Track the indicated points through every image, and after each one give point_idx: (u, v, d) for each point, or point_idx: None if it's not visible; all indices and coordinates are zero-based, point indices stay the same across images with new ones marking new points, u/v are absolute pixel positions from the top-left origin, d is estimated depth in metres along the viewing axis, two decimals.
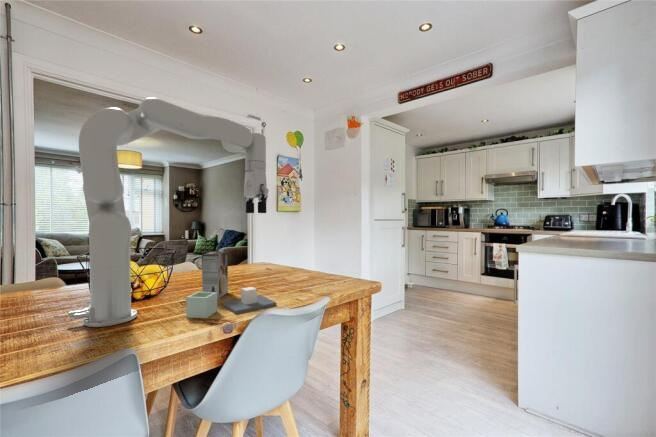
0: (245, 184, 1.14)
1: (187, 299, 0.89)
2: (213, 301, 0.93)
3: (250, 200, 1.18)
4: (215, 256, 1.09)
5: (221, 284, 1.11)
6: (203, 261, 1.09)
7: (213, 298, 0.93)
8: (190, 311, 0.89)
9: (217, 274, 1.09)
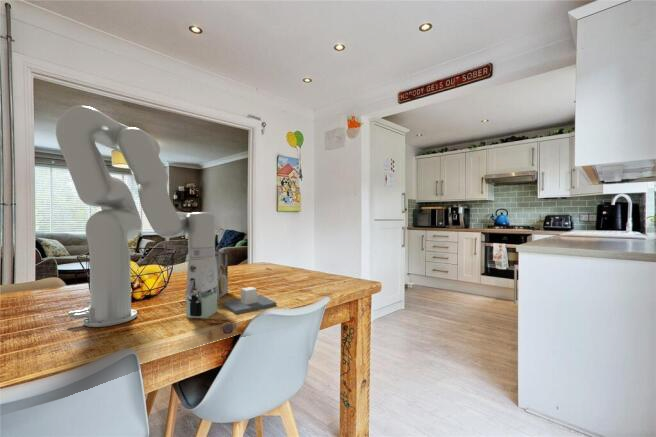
0: (205, 276, 0.89)
1: (187, 299, 0.89)
2: (213, 301, 0.93)
3: None
4: (215, 256, 1.09)
5: (221, 284, 1.11)
6: None
7: (213, 298, 0.93)
8: None
9: (217, 274, 1.09)
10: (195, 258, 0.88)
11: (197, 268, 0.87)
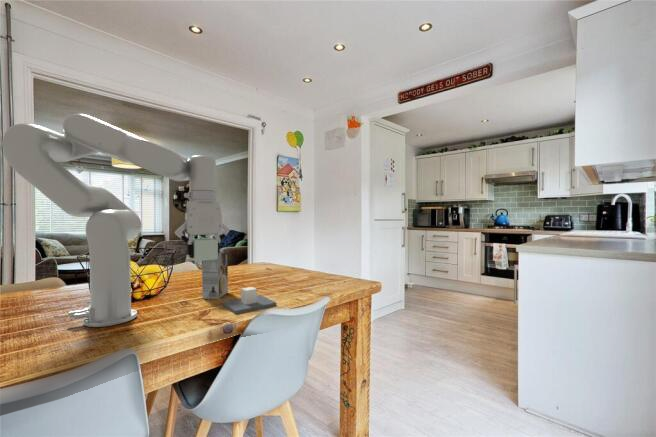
0: (195, 218, 0.88)
1: None
2: (209, 247, 0.90)
3: None
4: None
5: (221, 284, 1.11)
6: (203, 261, 1.09)
7: (209, 244, 0.90)
8: None
9: (217, 274, 1.09)
10: (190, 200, 0.90)
11: (187, 209, 0.88)
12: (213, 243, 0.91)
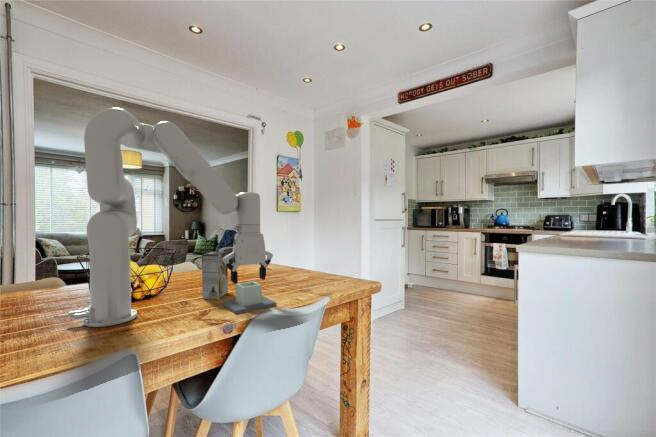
0: (243, 250, 0.97)
1: (236, 286, 1.01)
2: (255, 292, 0.99)
3: None
4: (215, 256, 1.09)
5: (221, 284, 1.11)
6: (203, 261, 1.09)
7: (255, 289, 0.99)
8: (237, 297, 1.01)
9: (217, 274, 1.09)
10: (238, 233, 0.99)
11: (236, 242, 0.97)
12: (258, 288, 1.00)
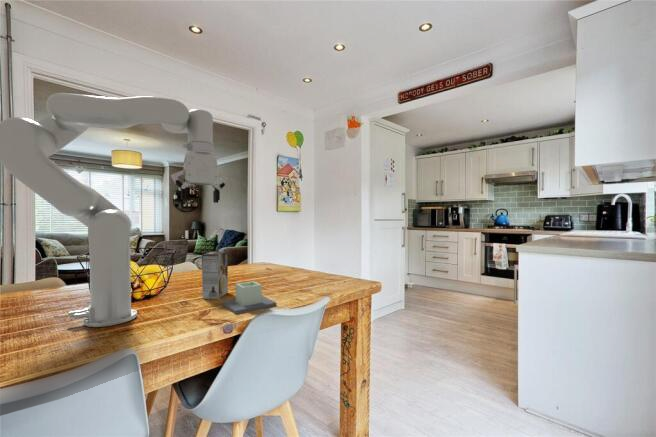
0: (193, 167, 0.95)
1: (236, 286, 1.01)
2: (255, 292, 0.99)
3: None
4: (215, 256, 1.09)
5: (221, 284, 1.11)
6: (203, 261, 1.09)
7: (255, 289, 0.99)
8: (237, 297, 1.01)
9: (217, 274, 1.09)
10: None
11: (185, 159, 0.95)
12: (258, 288, 1.00)
